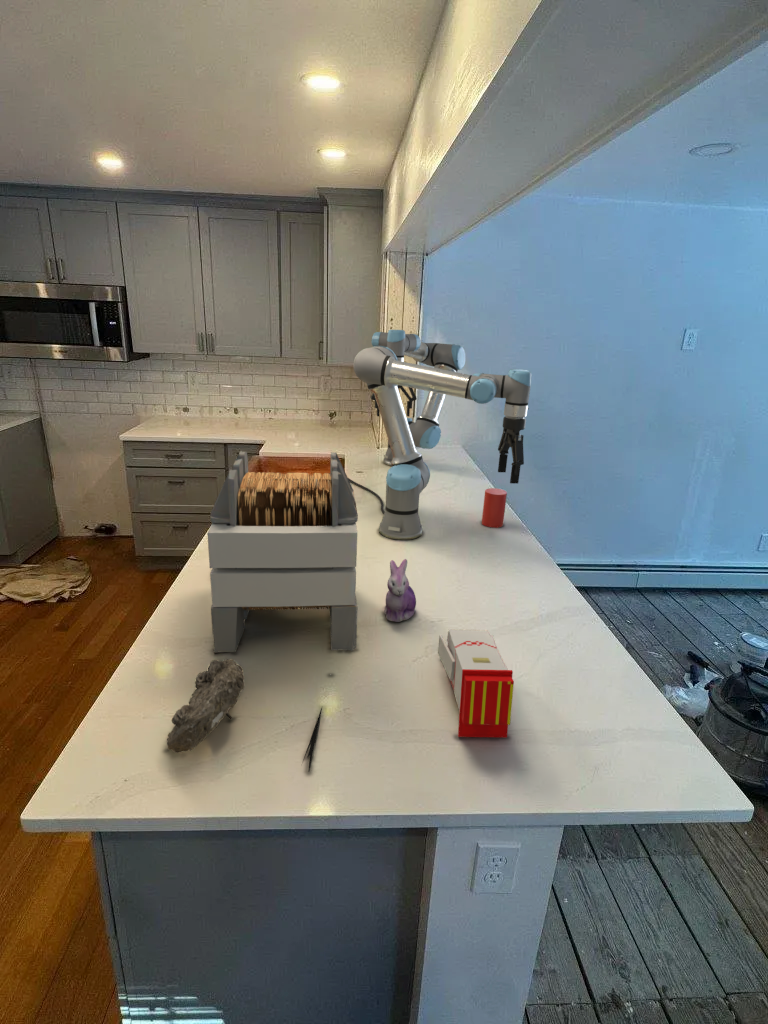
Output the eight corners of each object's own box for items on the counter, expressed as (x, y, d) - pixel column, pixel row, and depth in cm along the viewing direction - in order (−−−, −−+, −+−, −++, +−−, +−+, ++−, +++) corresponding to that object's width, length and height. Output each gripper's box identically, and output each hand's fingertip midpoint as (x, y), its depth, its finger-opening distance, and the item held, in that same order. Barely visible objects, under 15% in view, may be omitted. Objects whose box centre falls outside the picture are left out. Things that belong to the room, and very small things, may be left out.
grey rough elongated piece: (192, 660, 117) (244, 628, 112) (224, 691, 120) (276, 661, 115) (142, 746, 98) (202, 712, 93) (182, 779, 101) (242, 748, 96)
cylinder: (482, 526, 210) (485, 493, 206) (480, 519, 218) (484, 487, 213) (504, 528, 209) (508, 495, 205) (501, 520, 217) (505, 488, 213)
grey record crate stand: (232, 584, 158) (225, 442, 144) (349, 583, 162) (353, 444, 148) (211, 655, 127) (198, 480, 113) (357, 651, 130) (362, 482, 117)
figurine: (392, 627, 141) (395, 572, 136) (374, 608, 149) (376, 556, 144) (425, 619, 145) (429, 566, 140) (405, 601, 154) (408, 550, 149)
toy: (488, 613, 130) (523, 677, 101) (484, 667, 133) (517, 744, 104) (435, 612, 130) (455, 676, 101) (432, 666, 133) (451, 743, 103)
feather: (331, 679, 122) (336, 673, 122) (307, 777, 96) (313, 769, 95) (324, 675, 122) (329, 669, 121) (298, 772, 95) (304, 764, 95)
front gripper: (539, 424, 180) (530, 488, 187) (513, 410, 203) (506, 467, 210) (516, 424, 179) (508, 488, 186) (493, 410, 202) (487, 467, 209)
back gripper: (367, 367, 240) (366, 417, 247) (425, 368, 244) (422, 417, 252) (365, 365, 247) (364, 414, 254) (421, 366, 251) (418, 414, 258)
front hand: (507, 477), depth 198 cm, fingers open, 13 cm apart
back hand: (393, 416), depth 253 cm, fingers open, 13 cm apart
